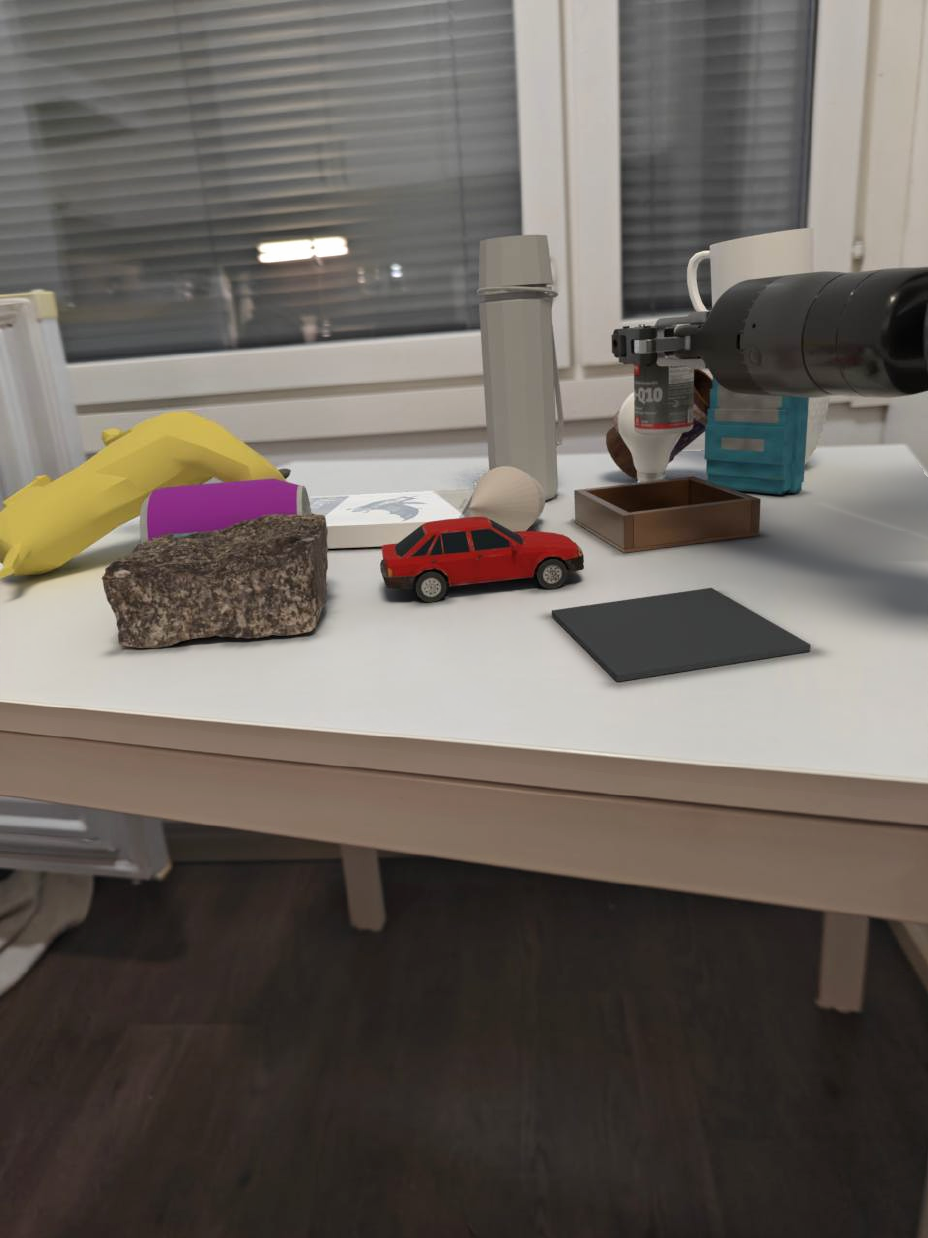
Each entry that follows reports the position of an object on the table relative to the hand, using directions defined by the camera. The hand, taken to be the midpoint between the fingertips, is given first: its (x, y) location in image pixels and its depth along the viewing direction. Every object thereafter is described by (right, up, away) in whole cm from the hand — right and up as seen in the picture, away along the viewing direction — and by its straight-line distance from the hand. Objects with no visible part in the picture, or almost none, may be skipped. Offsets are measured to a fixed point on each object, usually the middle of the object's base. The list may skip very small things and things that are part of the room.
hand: (644, 340), depth 69 cm
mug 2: (+16, +6, +21) cm, 27 cm away
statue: (-51, -13, +12) cm, 54 cm away
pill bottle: (+2, -8, 0) cm, 8 cm away
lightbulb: (+4, -12, +14) cm, 18 cm away
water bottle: (-8, -10, +19) cm, 23 cm away
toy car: (-14, -21, -9) cm, 26 cm away
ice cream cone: (-11, -16, +3) cm, 20 cm away
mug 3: (+20, -6, +26) cm, 33 cm away
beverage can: (-39, -17, -4) cm, 43 cm away
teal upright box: (+14, -10, +15) cm, 23 cm away
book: (-25, -15, +10) cm, 31 cm away
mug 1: (+2, -5, +24) cm, 24 cm away
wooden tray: (+2, -15, +3) cm, 16 cm away
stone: (-33, -16, -16) cm, 40 cm away
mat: (-3, -24, -20) cm, 31 cm away
